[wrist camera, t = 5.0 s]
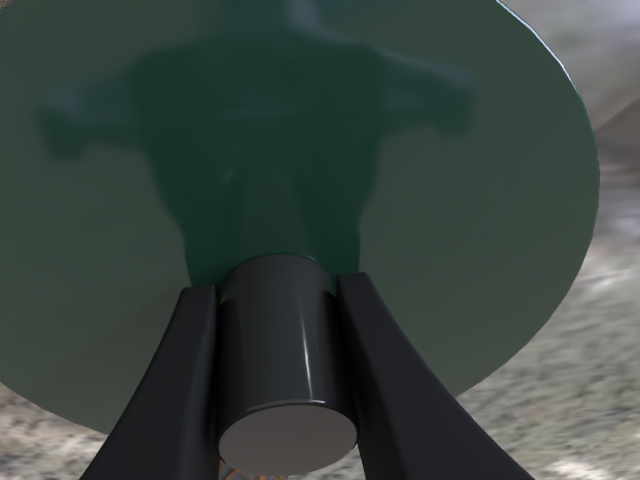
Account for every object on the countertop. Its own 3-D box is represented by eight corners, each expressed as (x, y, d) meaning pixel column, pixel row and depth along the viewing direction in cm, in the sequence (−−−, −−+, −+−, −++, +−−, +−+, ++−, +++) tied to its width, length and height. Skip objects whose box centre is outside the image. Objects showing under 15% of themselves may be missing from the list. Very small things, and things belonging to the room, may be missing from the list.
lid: (496, 397, 18) (558, 544, 15) (59, 443, 17) (12, 617, 13) (696, -96, 9) (1006, -7, 5) (-280, -78, 7) (-750, 55, 4)
